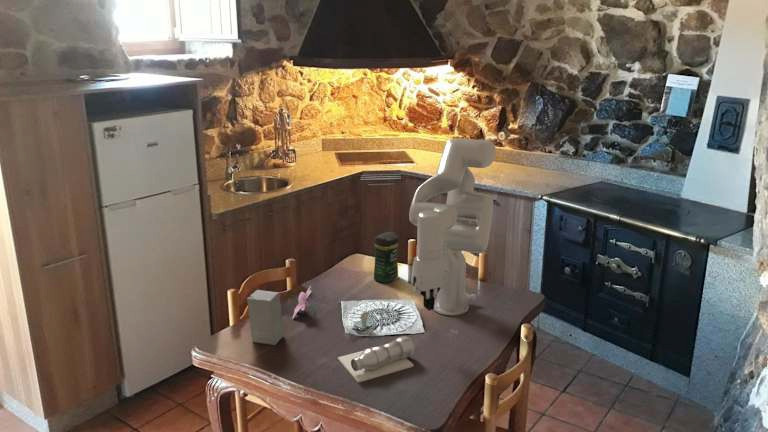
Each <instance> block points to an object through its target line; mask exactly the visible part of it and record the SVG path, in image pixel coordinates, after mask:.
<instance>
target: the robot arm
mask: <svg viewBox="0 0 768 432" xmlns="http://www.w3.org/2000/svg"><path fill="white" fill-rule="evenodd" d="M496 150H497V149H496V146H495V143H494V142H493V141H492V140H488V139H487V140H485V139H472V138H471V139H470V138H451V139H449V140H447V141H446V142H445V145H444V147H443V150H442V154H441V157H440V160H439V163H438V167H437V168H436V173H435V175H433V176H431V177H430V178H428V179H427V180H425V181H424V182H423V183H422V184H421V185H420V186H418V188H417V189H416V191H415V193H414V195H413V199H412V200H411V203H410V207H409V212H408V217H409V221H410V223H411V224H412V225H413V226H415V227H417V228H416V229H417V237H416V239H417V243H416V245H417V247H416V248H417V249H416V250H417V251H416V252H417V253H416V256H414V258H413V262H412V269H411V274H410V275H411V277H410V278H411V279H410V285H411V287H413V290H412V293H413V294H414V295H417V296H418V295H419V296H420V295H421V296H423V307H424V308H425V309H426V310H427V311H435V312H436V313H439V314H440V315H445V316H460V315H464V314H465V313H466V312H468V311H469V306H470V305H469V303H468V302H470V301H473V300H476V298H477V295H476V293H472V294H469V292H466V275H467V260H466V257H465V255H464V253H463V252H467V253H473V254H474V253H476V254H482V253H484V252H486V250H487V248H488V245H489V241H490V235H491V234H490V233H491V226H492V222H493V221H492V220H493V213H494V212H493V211H494V201H493V198H492V196H490V195H489V194H487V193H484V192H482V193H481V192H475V191H474V187H475V183H476V181H475V180H476V179H475V176H474V174H473V172H472V171H471V169H470V168H473V169H475V168H476V169H486V168H488V167H490V166H491V165H492V164H493V162H494V161H495V158H496V154H497V153H496V152H497V151H496ZM444 193H447V196H446V197H447V198H446V201H445V203H437V202H429V201H428V200H429V199H431V198H433V197H436V196H437V195H438V196H439V195H441V194H444ZM458 220H465V221H475V222H476V223H468V222H461V221H460V222H459V221H458ZM436 298H437V299H436Z"/></svg>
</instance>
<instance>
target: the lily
mask: <svg viewBox="0 0 768 432" xmlns="http://www.w3.org/2000/svg"><path fill="white" fill-rule="evenodd" d="M311 288H312V285H310V286H309V287H308V289H307V290H306V292H305V291H301V292H300V293H299V295H298V299H297V302H298V304H297V305H296V307H295V308H294V310H293V311H294V312H293V314H292V318H291V319H292V320H293V319H294V318H295V316H296V315H297V313H298V312H299V311H300V310H301V311H305V308H306V307H310V308H311V309H312V310H313V311H314V313H315V314H317V311H316V310H315V309H314V307H313V306H312V305H310V302H309V296H310V294H311V293H312V290H311Z"/></svg>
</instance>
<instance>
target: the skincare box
mask: <svg viewBox="0 0 768 432" xmlns="http://www.w3.org/2000/svg"><path fill="white" fill-rule="evenodd" d="M246 300H247V301H246V302H247V307H248V315H249V324H250V331H251V338H252V343H258V344H259V343H260V344H266V345H272V346H276V345H277V344H278V343H279V341H281V339H283V338H284V336H285V330H284V323H283V314H282V305H281V297H280V292H277V291H268V290H262V289H256V290H255V291H253V293H251V294H250V296H248V297H246Z"/></svg>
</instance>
